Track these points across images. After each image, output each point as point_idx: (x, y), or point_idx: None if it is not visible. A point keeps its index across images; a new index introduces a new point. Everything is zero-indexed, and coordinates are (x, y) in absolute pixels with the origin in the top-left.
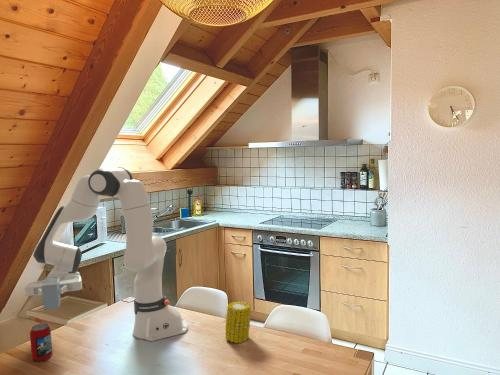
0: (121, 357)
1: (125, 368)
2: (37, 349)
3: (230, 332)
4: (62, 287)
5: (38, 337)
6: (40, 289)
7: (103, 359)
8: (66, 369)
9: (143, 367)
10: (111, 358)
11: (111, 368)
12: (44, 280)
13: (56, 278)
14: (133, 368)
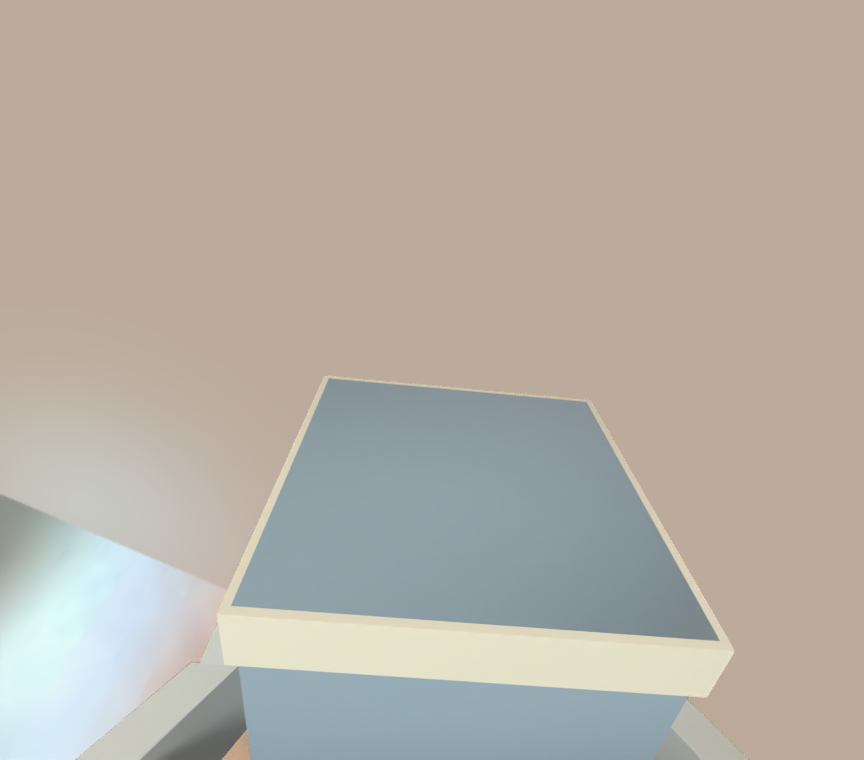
0: (20, 647)
1: (81, 545)
2: None
3: None
4: (202, 693)
5: None
6: (710, 751)
7: (114, 665)
8: None
9: (16, 525)
10: (71, 658)
11: (130, 566)
12: (655, 544)
13: (323, 590)
14: (54, 533)
